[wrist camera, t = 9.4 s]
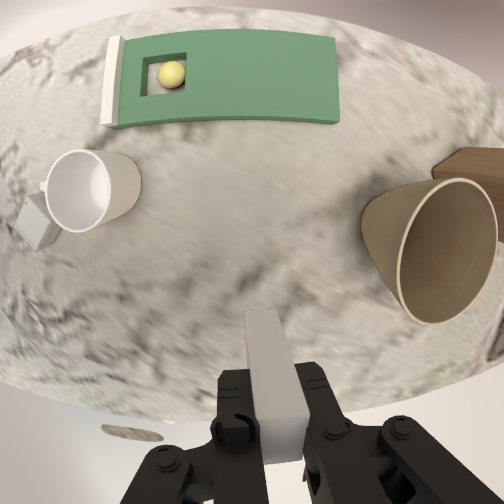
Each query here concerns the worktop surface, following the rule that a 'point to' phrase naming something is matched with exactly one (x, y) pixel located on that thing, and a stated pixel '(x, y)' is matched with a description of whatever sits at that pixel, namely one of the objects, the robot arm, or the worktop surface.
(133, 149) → the worktop surface
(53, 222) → the small box
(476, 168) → the wooden block
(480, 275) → the plant pot
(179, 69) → the ball
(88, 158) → the mug
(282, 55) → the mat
